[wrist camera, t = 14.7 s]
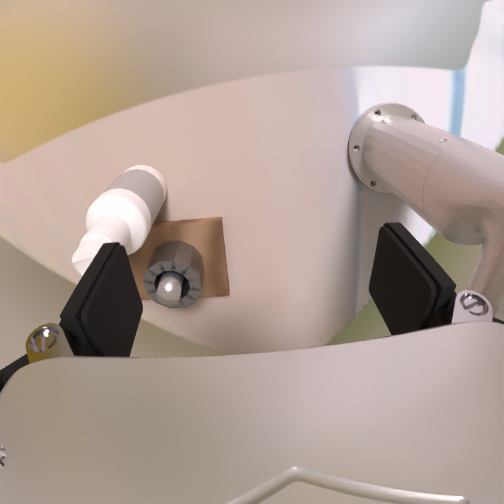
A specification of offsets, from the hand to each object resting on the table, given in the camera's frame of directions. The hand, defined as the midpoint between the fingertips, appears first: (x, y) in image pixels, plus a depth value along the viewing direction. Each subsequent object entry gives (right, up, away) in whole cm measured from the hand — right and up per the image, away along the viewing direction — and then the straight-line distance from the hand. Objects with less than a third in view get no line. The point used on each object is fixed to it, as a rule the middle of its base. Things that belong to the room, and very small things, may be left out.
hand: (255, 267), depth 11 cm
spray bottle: (-14, +9, +27) cm, 32 cm away
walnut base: (-11, 0, +33) cm, 34 cm away
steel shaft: (-11, -1, +31) cm, 33 cm away
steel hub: (-10, -1, +31) cm, 33 cm away
